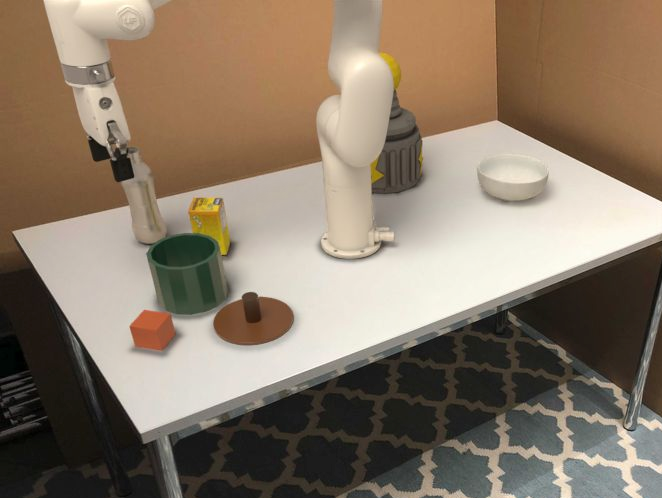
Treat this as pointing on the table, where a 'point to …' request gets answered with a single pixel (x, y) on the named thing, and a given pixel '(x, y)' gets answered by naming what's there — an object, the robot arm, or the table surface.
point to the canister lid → (253, 320)
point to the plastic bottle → (143, 201)
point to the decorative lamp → (398, 146)
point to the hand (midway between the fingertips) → (113, 169)
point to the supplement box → (210, 220)
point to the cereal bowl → (512, 176)
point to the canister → (187, 273)
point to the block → (152, 330)
